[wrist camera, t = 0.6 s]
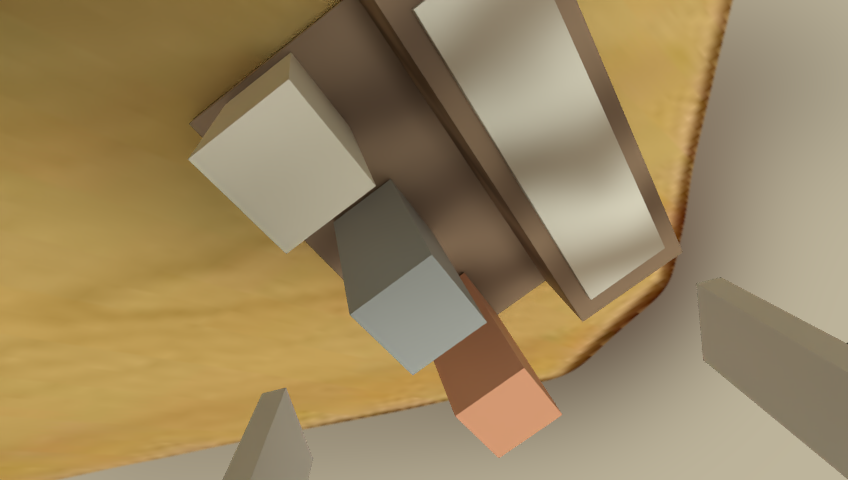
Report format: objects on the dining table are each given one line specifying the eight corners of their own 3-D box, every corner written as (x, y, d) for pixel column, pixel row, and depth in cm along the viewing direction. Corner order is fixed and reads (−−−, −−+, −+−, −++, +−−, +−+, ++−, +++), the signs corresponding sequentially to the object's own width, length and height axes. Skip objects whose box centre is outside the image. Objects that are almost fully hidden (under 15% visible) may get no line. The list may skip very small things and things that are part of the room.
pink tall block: (413, 309, 30) (455, 416, 22) (464, 272, 30) (524, 368, 22) (449, 348, 32) (499, 458, 25) (497, 314, 32) (562, 414, 24)
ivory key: (225, 104, 22) (187, 159, 15) (290, 52, 22) (288, 79, 14) (288, 174, 25) (286, 253, 17) (349, 127, 24) (375, 185, 16)
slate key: (333, 222, 26) (349, 314, 19) (390, 179, 26) (431, 254, 18) (380, 273, 29) (412, 375, 21) (433, 233, 28) (486, 322, 20)
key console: (193, 118, 24) (162, 154, 18) (467, -102, 22) (525, -136, 17) (423, 353, 34) (448, 421, 28) (620, 212, 33) (687, 255, 27)
